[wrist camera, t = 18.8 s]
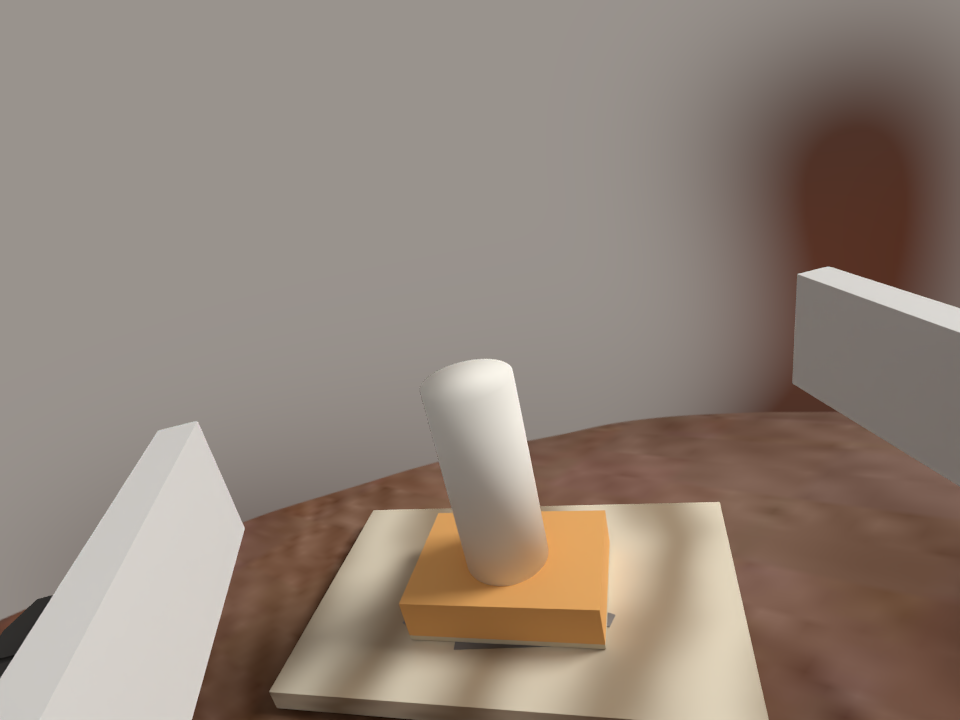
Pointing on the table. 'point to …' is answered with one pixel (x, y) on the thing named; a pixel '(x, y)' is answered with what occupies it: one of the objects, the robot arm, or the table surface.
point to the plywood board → (540, 669)
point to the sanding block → (501, 530)
